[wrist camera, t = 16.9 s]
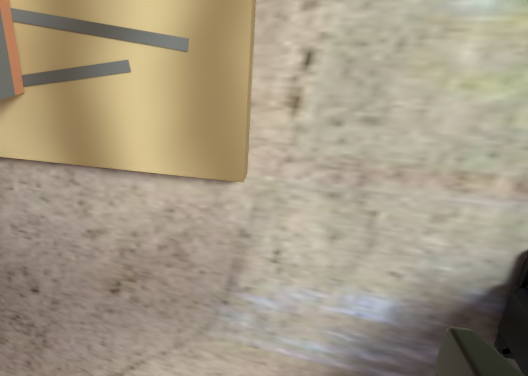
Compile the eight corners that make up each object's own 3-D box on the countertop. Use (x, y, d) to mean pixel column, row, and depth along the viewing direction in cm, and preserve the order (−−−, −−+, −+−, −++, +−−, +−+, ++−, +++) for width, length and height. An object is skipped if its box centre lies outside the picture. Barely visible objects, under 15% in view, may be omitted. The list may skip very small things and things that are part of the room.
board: (263, -161, 16) (259, -173, 15) (247, 172, 21) (242, 183, 20) (-95, -175, 17) (-126, -187, 16) (-24, 144, 22) (-43, 152, 21)
